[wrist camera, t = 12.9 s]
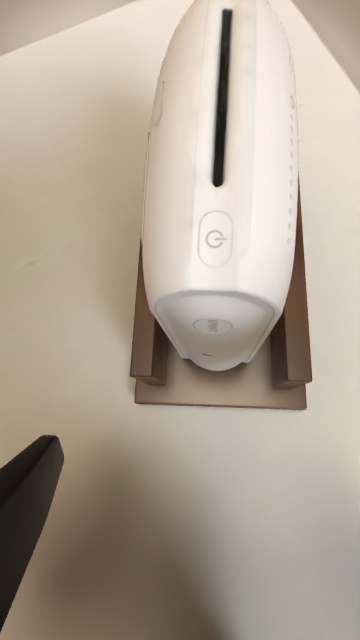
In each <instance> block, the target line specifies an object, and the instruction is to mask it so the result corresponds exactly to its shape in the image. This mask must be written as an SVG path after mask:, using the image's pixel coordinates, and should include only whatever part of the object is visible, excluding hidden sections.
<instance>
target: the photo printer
mask: <svg viewBox="0 0 360 640" xmlns="http://www.w3.org/2000/svg"><path fill="white" fill-rule="evenodd" d="M297 201H298V119H297V99H296V86H295V74H294V68H293V60H292V55H291V49H290V45H289V41H288V38H287V35H286V32H285V30H284V28H283V25H282V23H281V21H280V19H279V17H278V16H277V14H276V12H275V11H274V9H273V8H272V6H271V5H270V4H269V2H268V1H267V0H195V1H194V3H193V4H192V5H191V6H190V7H189V9H188V10H187V12H186V13H185V14H184V16H183V17H182V19H181V20H180V22H179V24H178V26H177V28H176V30H175V31H174V33H173V36H172V38H171V40H170V43H169V46H168V48H167V52H166V55H165V58H164V60H163V63H162V67H161V70H160V74H159V78H158V83H157V88H156V94H155V99H154V104H153V111H152V117H151V124H150V132H149V140H148V148H147V157H146V166H145V177H144V190H143V203H142V225H141V241H142V247H143V248H142V258H143V274H144V284H145V290H146V295H147V301H148V306H149V309H150V311H151V313H152V314H153V315H154V317H155V318H156V320H157V321H158V323H159V324H160V326H161V327H162V329H163V330H164V332H165V333H166V335H167V336H168V338H169V339H170V341H171V342H172V344H173V345H174V347H175V348H176V350H177V351H178V353H179V355H180V356H181V357H182V358H183V359H191V360H192V361H193V362H194V363H195V364H196V365H198V366H200V367H202V368H204V369H207V370H211V371H223V370H228V369H231V368H233V367H235V366H237V365H238V364H240V363H241V362H245V363H248V362H250V361H251V360H252V358H253V357H254V356H255V354H256V353H257V351H258V350H259V348H260V347H261V345H262V344H263V342H264V341H265V339H266V338H267V336H268V335H269V333H270V332H271V330H272V329H273V327H274V325H275V324H276V322H277V321H278V319H279V318H280V316H281V314H282V311H283V308H284V305H285V301H286V298H287V294H288V290H289V286H290V281H291V276H292V269H293V261H294V251H295V238H296V221H297Z"/></svg>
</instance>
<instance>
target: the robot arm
mask: <svg viewBox="0 0 360 640" xmlns="http://www.w3.org/2000/svg"><path fill="white" fill-rule="evenodd" d="M63 463H64V454H63V451H62V448H61V444H60V441H59V438H58V437H57V436H55V435H43V436H41V437H39V438H38V439H37V440H36V441H34V442H33V443H32V444H31V445H29V446H28V447H27V448H26V449H24V450H23V451H22V452H21V453H19V454H18V455H17V456H16V457H15V458H13V459H12V460H11V461H10V462H8V463H7V464H6V465H5V466H3V467H2V468H1V469H0V632H1V630H2V627H3V625H4V622H5V620H6V617H7V615H8V613H9V610H10V608H11V605H12V603H13V600H14V598H15V595H16V593H17V591H18V588H19V586H20V583H21V581H22V578H23V576H24V573H25V571H26V569H27V566H28V564H29V561H30V559H31V556H32V554H33V551H34V549H35V547H36V544H37V542H38V539H39V537H40V534H41V532H42V529H43V527H44V524H45V522H46V519H47V516H48V513H49V510H50V507H51V503H52V500H53V497H54V493H55V490H56V486H57V483H58V480H59V476H60V473H61V470H62V466H63Z"/></svg>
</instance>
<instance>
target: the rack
mask: <svg viewBox="0 0 360 640" xmlns="http://www.w3.org/2000/svg"><path fill="white" fill-rule="evenodd" d="M148 140H149V136H148ZM142 248H143V247H142V241H141V239H140V252H139V265H138V277H137V290H136V303H135V316H134V329H133V341H132V354H131V367H130V377H133V378H135V379H136V385H135V399H134V402H135V403H136V404H152V405H178V406H205V407H232V408H259V409H286V410H306V408H307V405H306V388H305V384H307V383H309V382H312V369H311V354H310V338H309V323H308V308H307V293H306V278H305V262H304V247H303V232H302V217H301V201H300V186H299V171H298V201H297V221H296V238H295V251H294V261H293V269H292V276H291V281H290V286H289V290H288V294H287V298H286V301H285V305H284V308H283V311H282V314H281V316H280V318H279V319H278V321H277V322H276V324H275V325H274V327H273V329H272V330H271V332H270V333H269V335H268V336H267V338H266V339H265V341H264V342H263V344H262V345H261V347H260V348H259V350H258V351H257V353H256V354H255V356H254V357H253V358H252V360H251V361H250V362H248V363H245V362H241V363H240V364H238V365H237V366H235V367H233V368H231V369H228V370H223V371H211V370H207V369H204V368H202V367H200V366H198V365H196V364H195V363H194V362H193V361H192V360H191V359H183V358H182V357H181V356H180V355H179V353H178V351H177V350H176V348H175V347H174V345H173V344H172V342H171V341H170V339H169V338H168V336H167V335H166V333H165V332H164V330H163V329H162V327H161V326H160V324H159V323H158V321H157V320H156V318H155V317H154V315H153V314H152V313H151V311H150V309H149V306H148V301H147V295H146V290H145V284H144V274H143V258H142Z"/></svg>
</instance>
